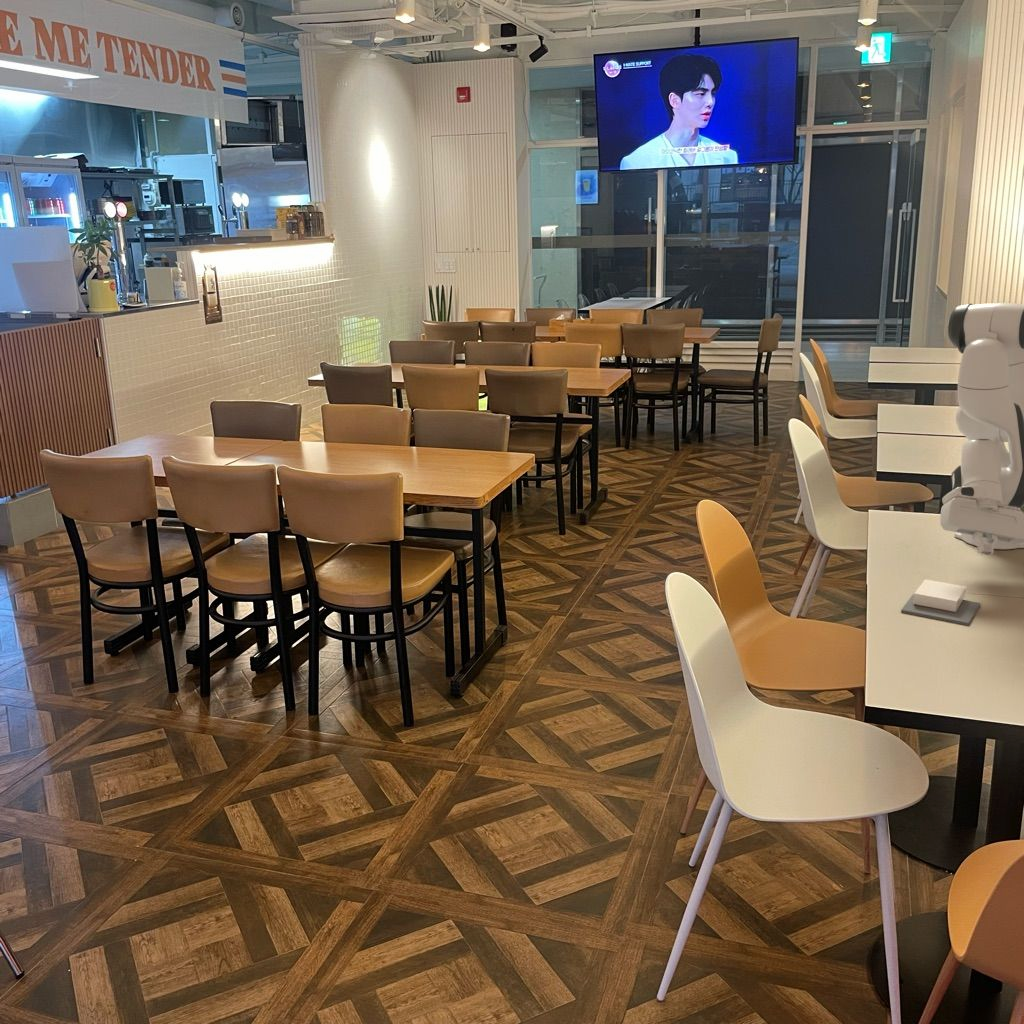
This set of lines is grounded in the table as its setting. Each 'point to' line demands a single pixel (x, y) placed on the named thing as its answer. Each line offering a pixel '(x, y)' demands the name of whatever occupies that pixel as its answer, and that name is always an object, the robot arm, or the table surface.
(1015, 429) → the robot arm
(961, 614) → the charcoal mat
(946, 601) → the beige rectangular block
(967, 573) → the table surface
